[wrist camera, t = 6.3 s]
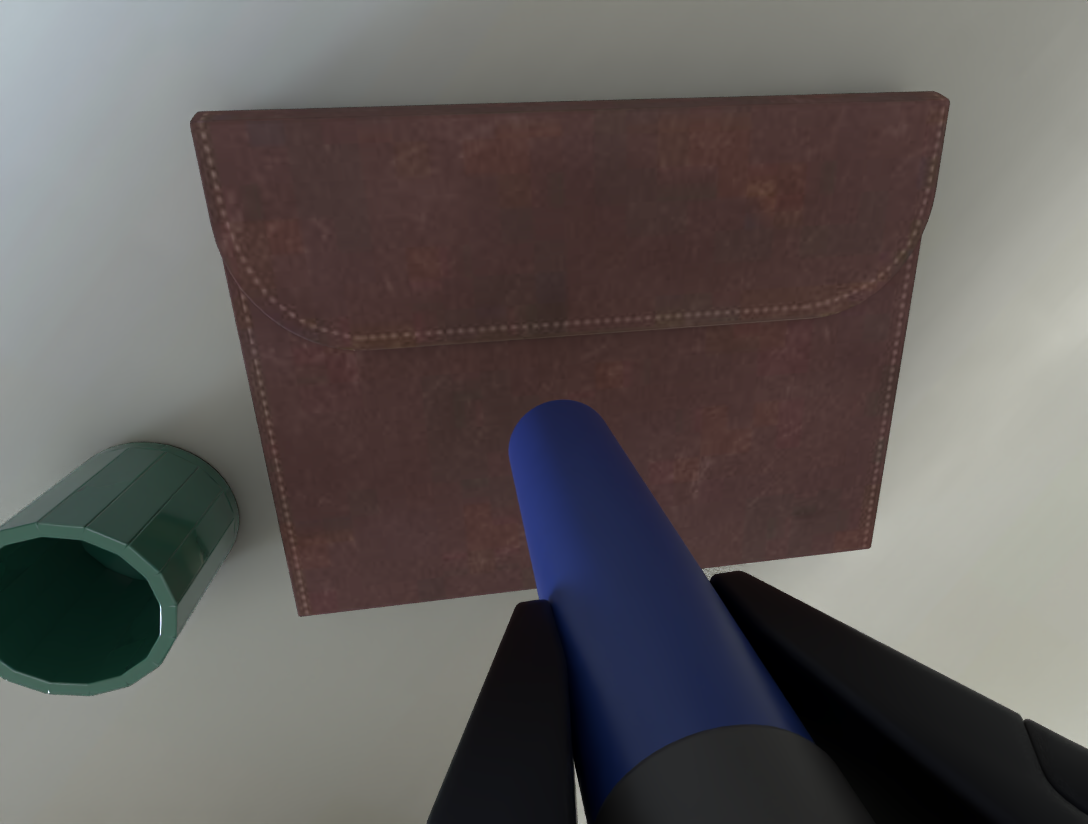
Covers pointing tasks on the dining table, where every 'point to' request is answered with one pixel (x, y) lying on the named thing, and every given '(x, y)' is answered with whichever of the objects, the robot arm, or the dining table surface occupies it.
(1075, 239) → the dining table surface
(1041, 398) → the dining table surface
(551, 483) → the marker
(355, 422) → the notebook
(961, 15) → the dining table surface
